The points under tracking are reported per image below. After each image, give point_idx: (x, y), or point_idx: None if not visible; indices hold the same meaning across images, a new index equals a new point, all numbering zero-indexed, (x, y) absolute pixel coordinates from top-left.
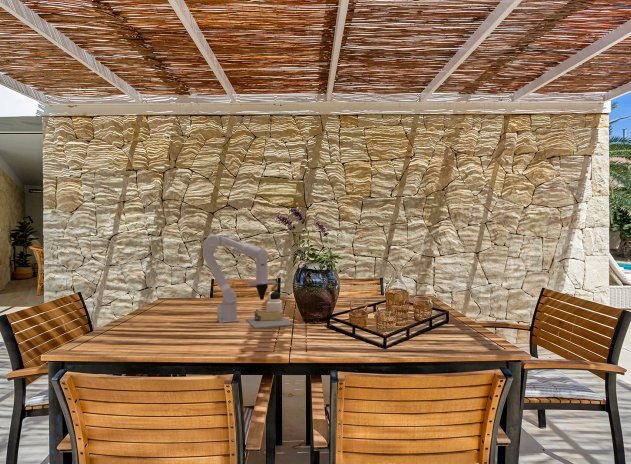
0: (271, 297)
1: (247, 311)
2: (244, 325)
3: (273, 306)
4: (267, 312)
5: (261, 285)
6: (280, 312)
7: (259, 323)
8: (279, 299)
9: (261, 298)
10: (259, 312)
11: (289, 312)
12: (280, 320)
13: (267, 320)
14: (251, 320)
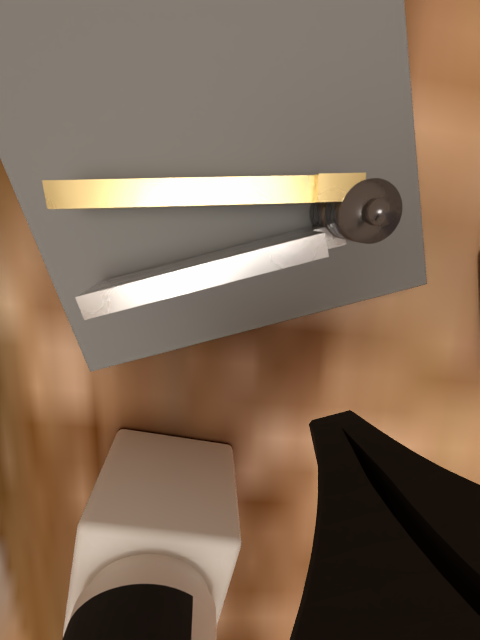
0: (179, 616)
1: None
2: (457, 72)
3: (165, 499)
4: (235, 254)
5: None
6: (65, 193)
7: (320, 50)
8: (75, 606)
9: (355, 419)
10: (342, 173)
11: (46, 553)
12: None
13: None
14: None
